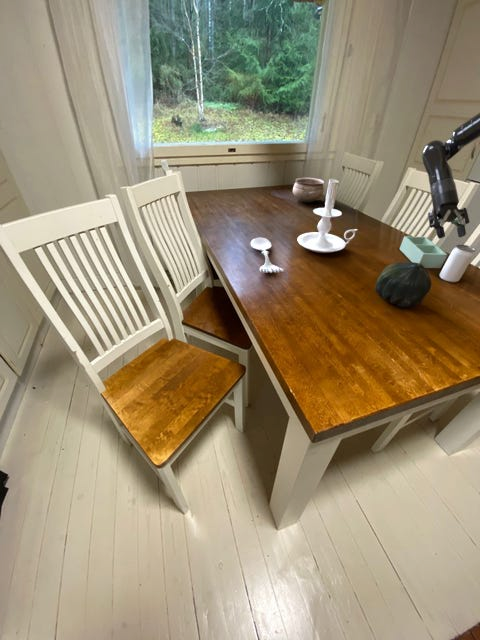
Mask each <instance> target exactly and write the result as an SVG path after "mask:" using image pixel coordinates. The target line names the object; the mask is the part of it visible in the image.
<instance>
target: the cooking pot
mask: <svg viewBox="0 0 480 640" xmlns="http://www.w3.org/2000/svg"><path fill="white" fill-rule="evenodd" d="M324 183H325V181H324V180H323V179H320V178H315V177H298V178H295V183H294V184H293V188H292V193H293V197H295V198H296V199H297V201H298V200H299V202H301V203H303V204H311V203H313V202H315V201H317V200H319V199H321V198H322V196H323V194H324Z"/></svg>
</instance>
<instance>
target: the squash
mask: <svg viewBox="0 0 480 640" xmlns="http://www.w3.org/2000/svg"><path fill="white" fill-rule="evenodd" d="M431 288H432V278H431V277H430V274H429V272H428V270H427V268H424V266H423V265H421V264H420V263H415V262H411V261H407V262H396V263H395V262H394V263H392V264H389V265H387V266H385V268H384V269H382V270H381V272H380V273H379V274H378V277H377V280H376V283H375V292H376V294H377V296H379V297H381V298H382V299H383V300H384V301H386V302H388V301H389V303H390V304H394V305H396V306H397V307H398V308H402V309H404V308H408V307H410V308H411V307H415V306H417V305H419V304H421V303H422V302H423V300H424V299H426V296H427V295H429V293H430V291H431Z"/></svg>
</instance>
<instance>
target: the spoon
mask: <svg viewBox="0 0 480 640" xmlns="http://www.w3.org/2000/svg"><path fill="white" fill-rule="evenodd" d="M250 246H251V247H252V248H253V249H254V250H256V251H261V254H262V255H263V256H264V258H265V259H264V264H263V265H261V266H260V267H259V273H260V274H261V273H266V274H268V273H270V274H272V273H280V272H281V273H284V269H283V268H281V267H279V266H277V265H275V264H273V263H272V262H271V260H270V258H269V254H270V252H269V251H268V250H270V249H271V248H272V243H271V241H270V240H268V239H267V238H265V237H255V238H253V239H252V240H251V241H250Z"/></svg>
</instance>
